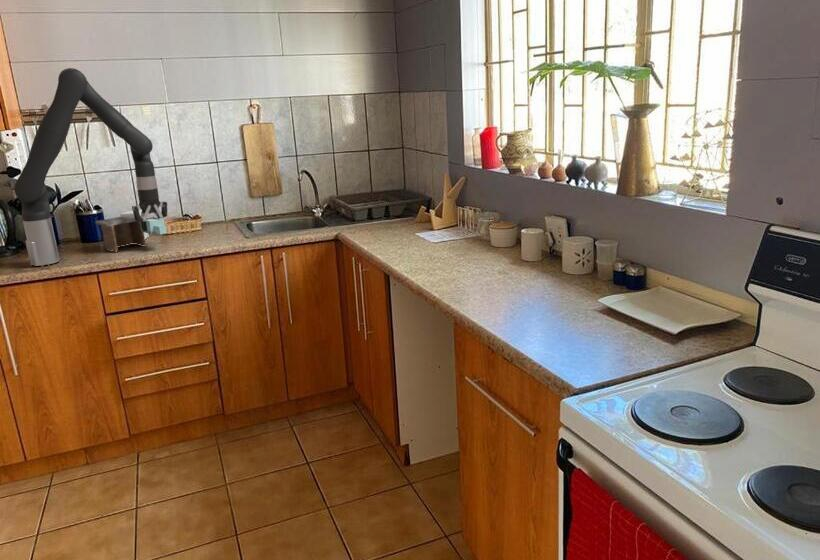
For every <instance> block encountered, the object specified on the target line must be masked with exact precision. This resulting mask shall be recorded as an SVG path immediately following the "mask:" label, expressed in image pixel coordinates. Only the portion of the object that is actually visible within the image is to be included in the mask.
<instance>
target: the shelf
mask: <svg viewBox="0 0 820 560" xmlns="http://www.w3.org/2000/svg"><path fill="white" fill-rule="evenodd" d="M140 217H141V216H140ZM94 222H95V225H99V226H100V229H101V234H102V240H103V245H104V249H105V248H106V249H109V250H113V251H118V252H119V248H118V247H117V246H121V245H126V244H130V243H137V244H141V245H146V246H147V244H146V240H145V238H144V232H141V225H140V221H136V220H135V217H134V215H128V216H122V217H121V216H118V217H117V216H116V217H111V218H106V219H100V220H96V221H94Z"/></svg>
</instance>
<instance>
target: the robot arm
mask: <svg viewBox="0 0 820 560" xmlns="http://www.w3.org/2000/svg"><path fill="white" fill-rule="evenodd" d="M57 81H58V83H57V87H56V90H55V93H54V97H53V100H52V103H51V104H50V106H49V107H48V109H47V110H46V112H45V114H44V116H43V117H42V119H41V121H40V124H39V126H38V128H37V131H36V132H35V135H34V138H33V141H32V145H31V147H30V150H29V154H28V157H27V159H26V162H25V165H24V168H23V169H22V171H21V173H20V175H19V176H18V178H17V180H16V181H15V183H14V186H13V190H14V195H15V196H16V197H17V199H18V200H20V203H21V220H22V224H23V228H24V232H25V237H26V240H25V244H26V245H25V246H26V250H27V255H28V260H29V263H30V265H31V264H33V265H35V266H38V265H45V264H51V263H55V262H58V261H59V260H60V256H59V255H60V254H59V251H58V247H57V246H58V245H57V241H56V236H55V232H54V226H53V222H52V216H51V205H50V201H49V195H48V189H47V186H46V183H45V181H46V178H47V175H48V172H49V171H50V168H51V166H52V165H53V164H54V162H55V160H56V159H57V157H58V156H59V154H60V152H61V150H62V148H63V147H64V144H65V142H66V140H67V136H68V134H69V131H70V128H71V125H72V120H73V117H74V113H75V110H76V108H77V106H78V105H79V102H82V103H83V104H84V105H85V106H86V107H87V108H88V109H89V110H91V112H92V113H94V114H95V116H96V117H97V118H98V119H99V120H100V121H101V122H102V123H103V124H104V125H105V126H106V127H107V128H108V129H109V130H111V132H113V133H114V134H115V135H116V136H117V137H118V138H119V139H122V140H123V141H124V142H126V143H127V144H128V145H129V146H130V148H129V149H130V152H131V157H132V160H133V163H134V172H135V178H136V179H135V183H136V190H137V197H138V198H137V199H138V202H139V203H138V205H132V206H131V209H132V210H131V211H133V213H134V217H135V220H136V221H140V222H141V228H142V230H143V231H147V225H146V222H145V221H146V218H148V217H149V214H155V216H156V218H161V219H164V218H166V217H168V203H167V201H160V200H159V199H160V196H159V189H158V183H157V178H156V172H155V165H154V163H153V161H152V159H151V152H152V150H153V142H152V141H151V139H150V137H148V136H146V135H145V134H144V133H143V132H142V131H140V130H139V129H138V128H137V127H135V125H133V124H132V122H131V121H129V120H128V119H127V118H126V117H125V116H124V115H123V114H122V113H121V112H120V111H118V110H117V109H116V108H115V107H114V106H113V105H112V104H110V103H109V102H108V101H107V100H105V99H104V98H103V97H102V96H101V95H100V93H98V92H97V91H96V90H95V89H94V88H93V86H92V85H91V84H90V82H89V81H88V79H87V77H86V75H85V74H84V73H83V72H82V71H81V70H78V69H77V68H74V67H73V68H72V67H68V68H64V69H63V70H61V71H60V73H59V75H58V80H57ZM159 208H161V210H160V209H159ZM139 210H142V212H141V217H140V214H139ZM60 261H61V260H60Z"/></svg>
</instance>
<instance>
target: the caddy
mask: <svg viewBox="0 0 820 560" xmlns="http://www.w3.org/2000/svg"><path fill="white" fill-rule="evenodd" d="M145 222H146V225H147V231H143V230H142V228H141V232H145V233H148V235H151V234H152V235H153V234H157V235H165V234H168V227H167V225H165V219H164V218H163V219H161V218H158V217H157V216H156V217H155V216H151V217H147V218H146V221H145ZM140 225H141V222H140Z"/></svg>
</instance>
